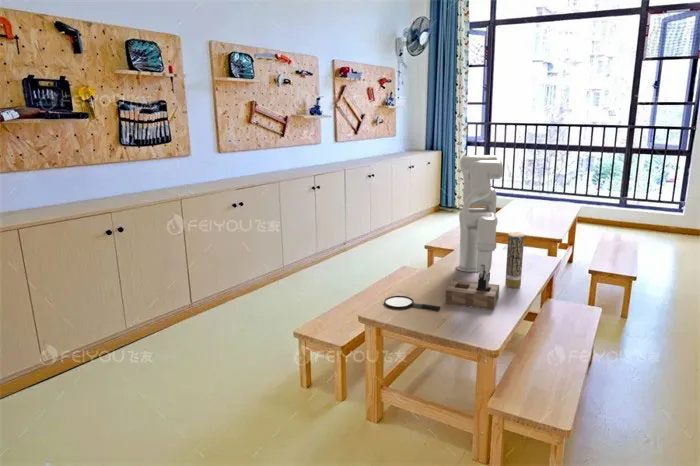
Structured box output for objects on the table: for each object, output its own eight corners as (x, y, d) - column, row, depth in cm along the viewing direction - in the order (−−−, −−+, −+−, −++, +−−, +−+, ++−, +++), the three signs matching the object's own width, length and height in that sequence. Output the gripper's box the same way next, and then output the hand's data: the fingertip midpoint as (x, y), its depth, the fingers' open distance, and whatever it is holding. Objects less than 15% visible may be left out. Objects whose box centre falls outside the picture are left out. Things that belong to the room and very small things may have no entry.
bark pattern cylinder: (521, 289, 221) (525, 236, 215) (505, 288, 222) (509, 235, 216) (519, 283, 227) (523, 232, 221) (504, 283, 229) (507, 231, 222)
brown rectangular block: (452, 291, 220) (453, 279, 218) (498, 297, 211) (499, 285, 210) (445, 303, 207) (445, 289, 206) (493, 310, 199) (494, 296, 198)
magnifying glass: (434, 317, 195) (434, 312, 194) (379, 308, 206) (379, 303, 205) (443, 305, 206) (443, 300, 205) (390, 298, 216) (390, 293, 216)
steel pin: (479, 297, 210) (480, 271, 207) (488, 298, 208) (489, 272, 205) (477, 300, 207) (478, 274, 204) (486, 302, 205) (488, 275, 202)
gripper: (480, 239, 210) (478, 277, 215) (472, 250, 195) (470, 290, 200) (498, 241, 207) (495, 279, 212) (491, 252, 192) (489, 292, 196)
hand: (483, 284), depth 206 cm, fingers open, 9 cm apart
